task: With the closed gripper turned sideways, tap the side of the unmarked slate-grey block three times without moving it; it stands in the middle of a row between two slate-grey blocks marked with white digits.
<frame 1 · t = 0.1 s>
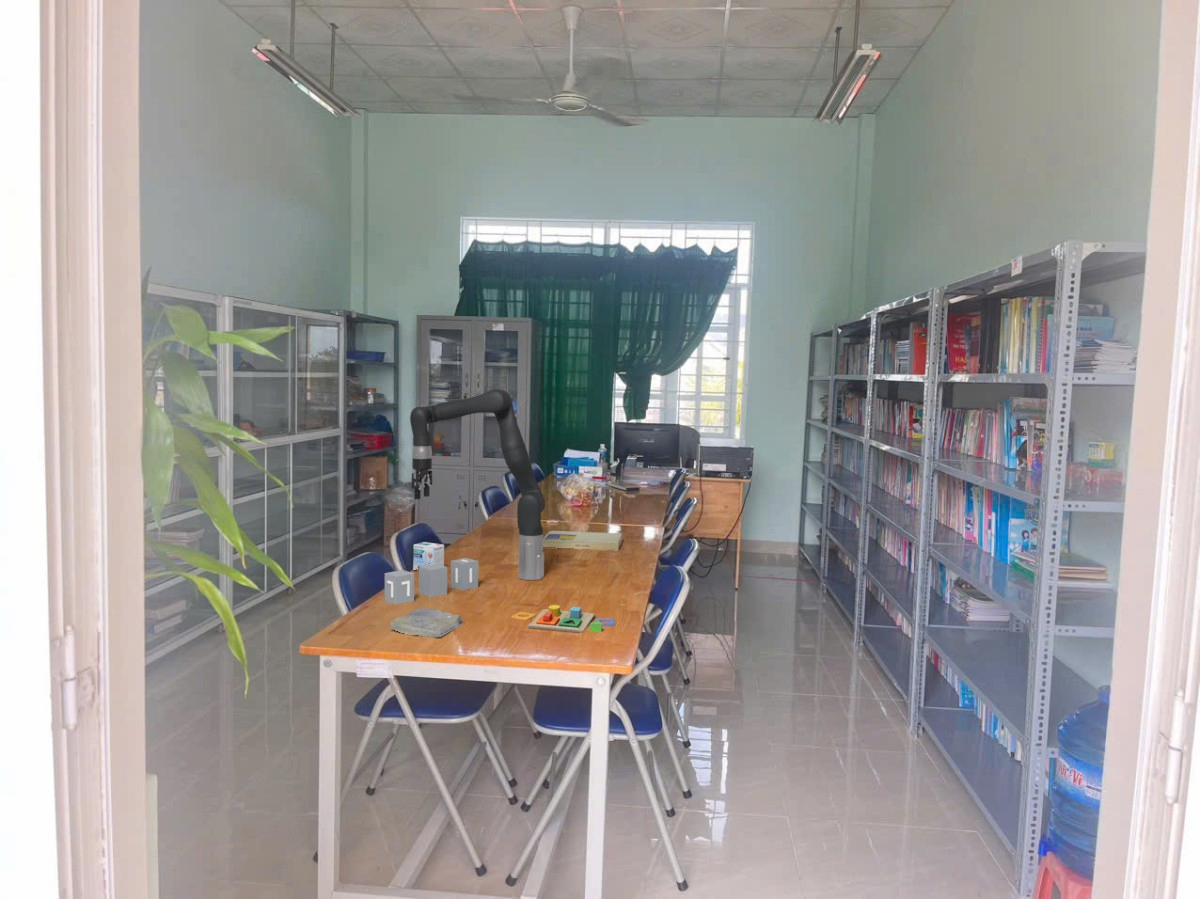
hand: (422, 497, 309), 29 cm above the table, tool pointing down, fingers open, 8 cm apart
puzzle box: (582, 545, 371), on the table
block marked 7: (399, 602, 265), on the table
block marked 1: (464, 587, 286), on the table
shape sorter: (561, 624, 246), on the table
fossil: (429, 628, 239), on the table
light bulb box: (428, 571, 311), on the table
plain block: (433, 594, 276), on the table
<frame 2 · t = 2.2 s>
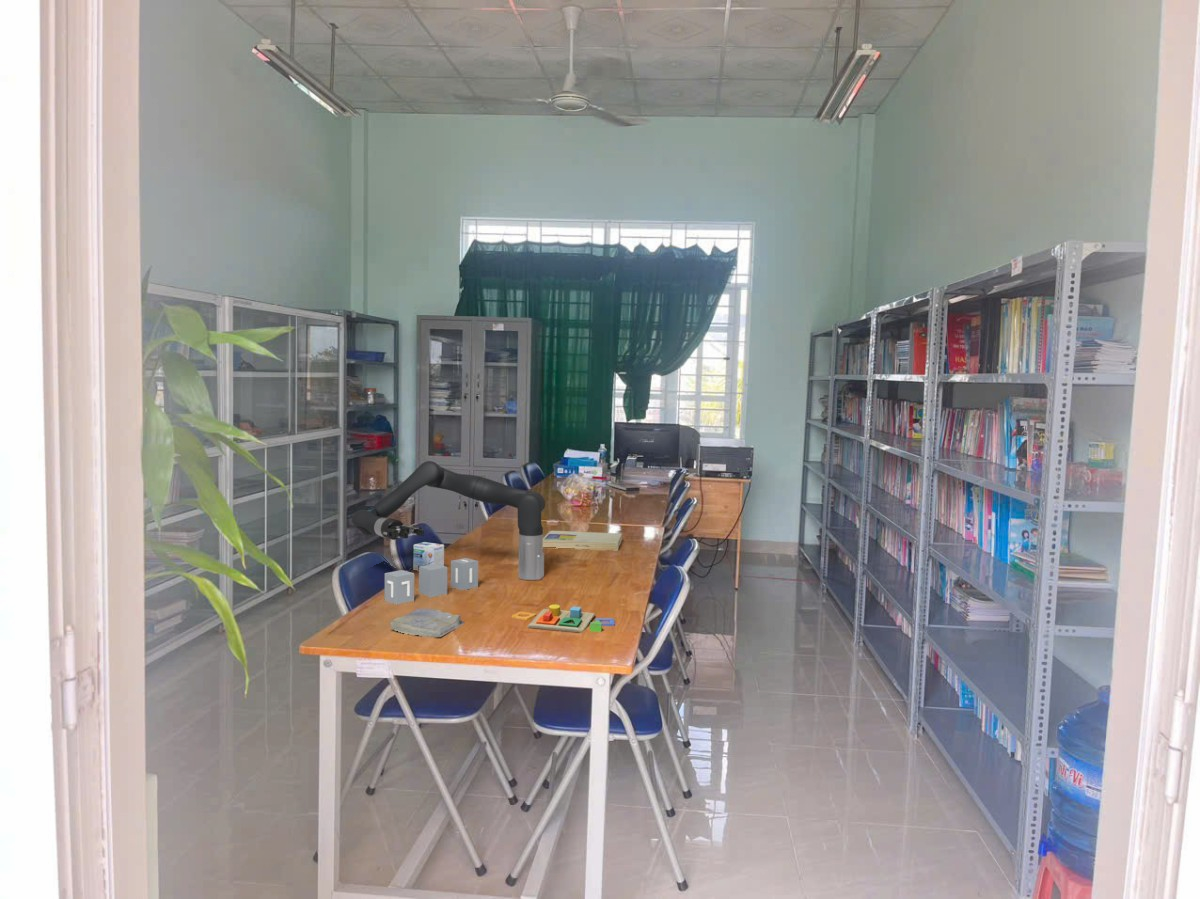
hand: (415, 534, 281), 20 cm above the table, tool horizontal, fingers open, 6 cm apart
nothing on the table moved.
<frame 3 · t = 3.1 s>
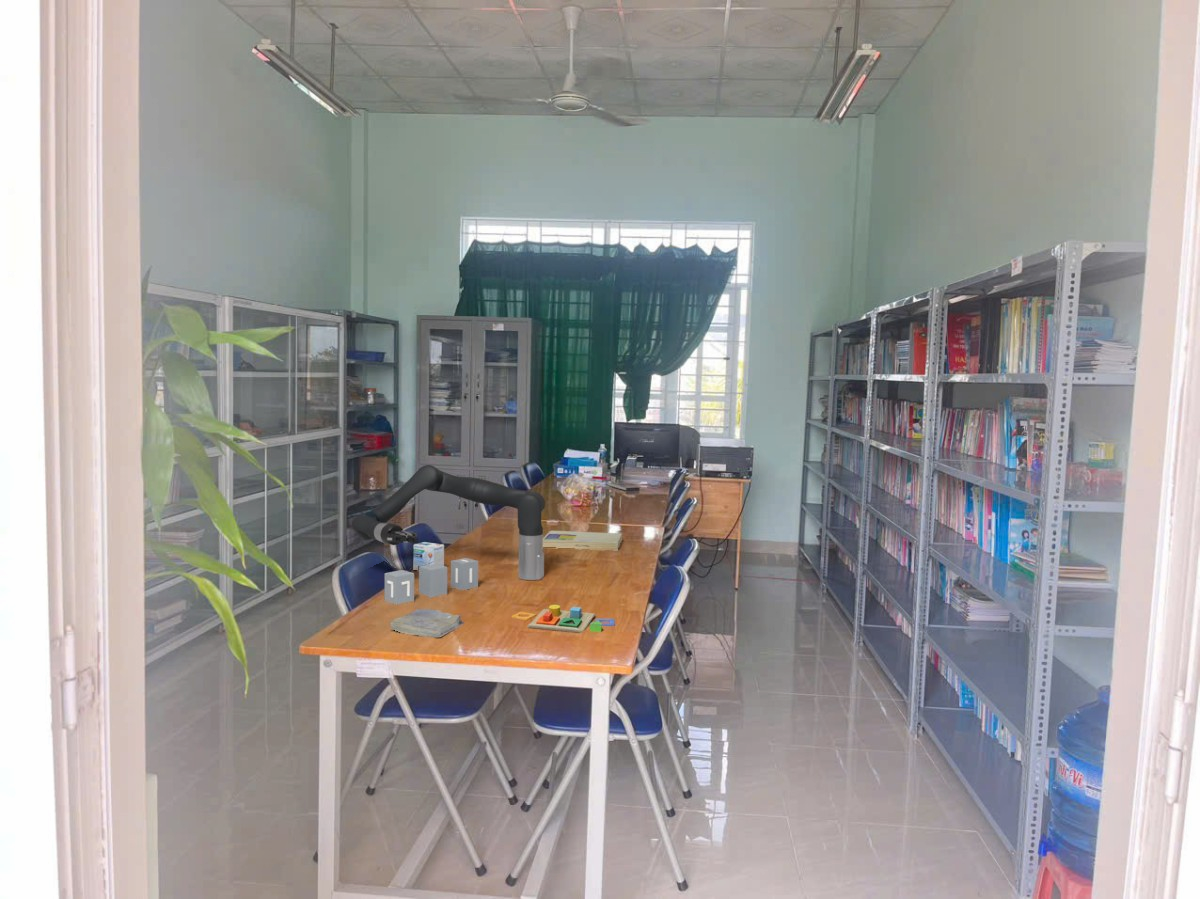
hand: (416, 540, 281), 18 cm above the table, tool horizontal, fingers closed
nothing on the table moved.
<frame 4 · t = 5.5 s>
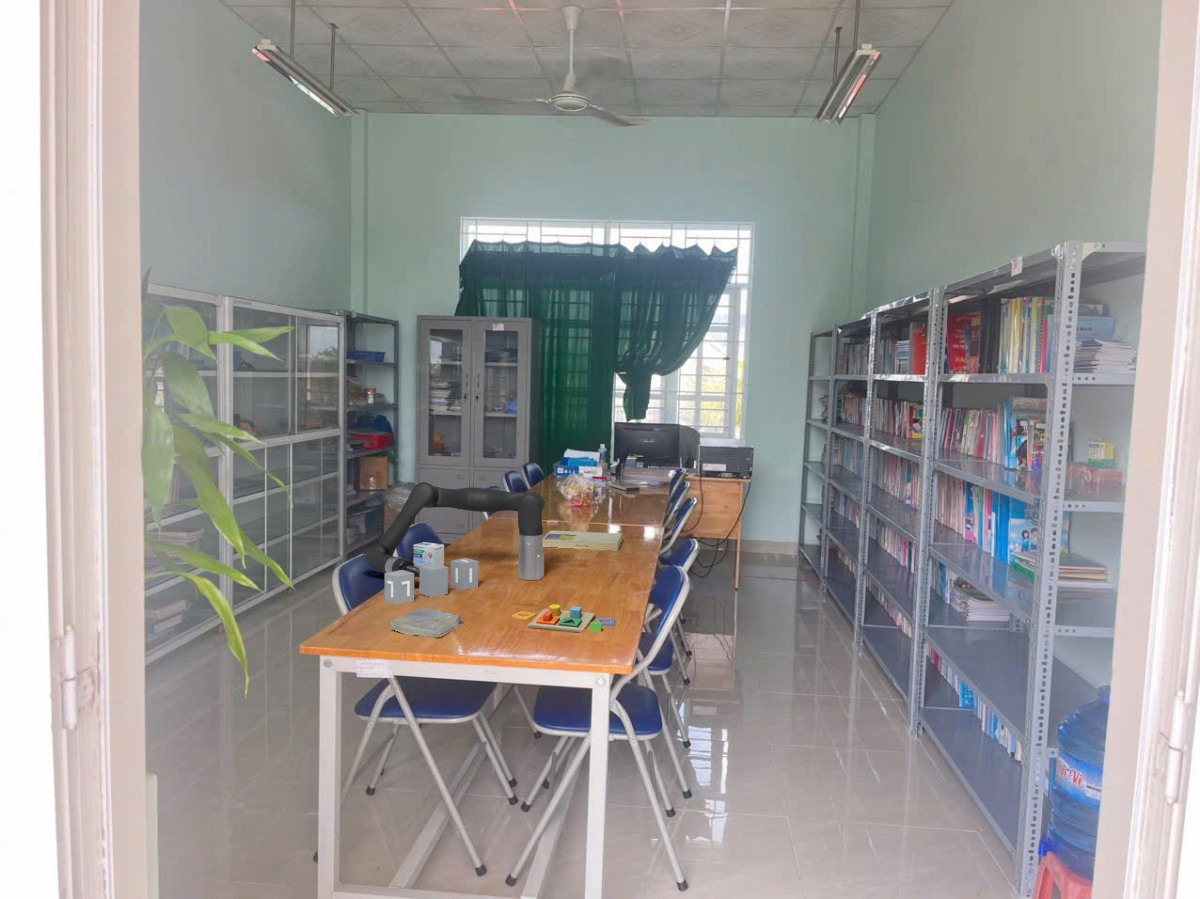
hand: (427, 576, 278), 6 cm above the table, tool horizontal, fingers closed
plain block: (433, 594, 276), on the table, touching gripper
everything else where it was.
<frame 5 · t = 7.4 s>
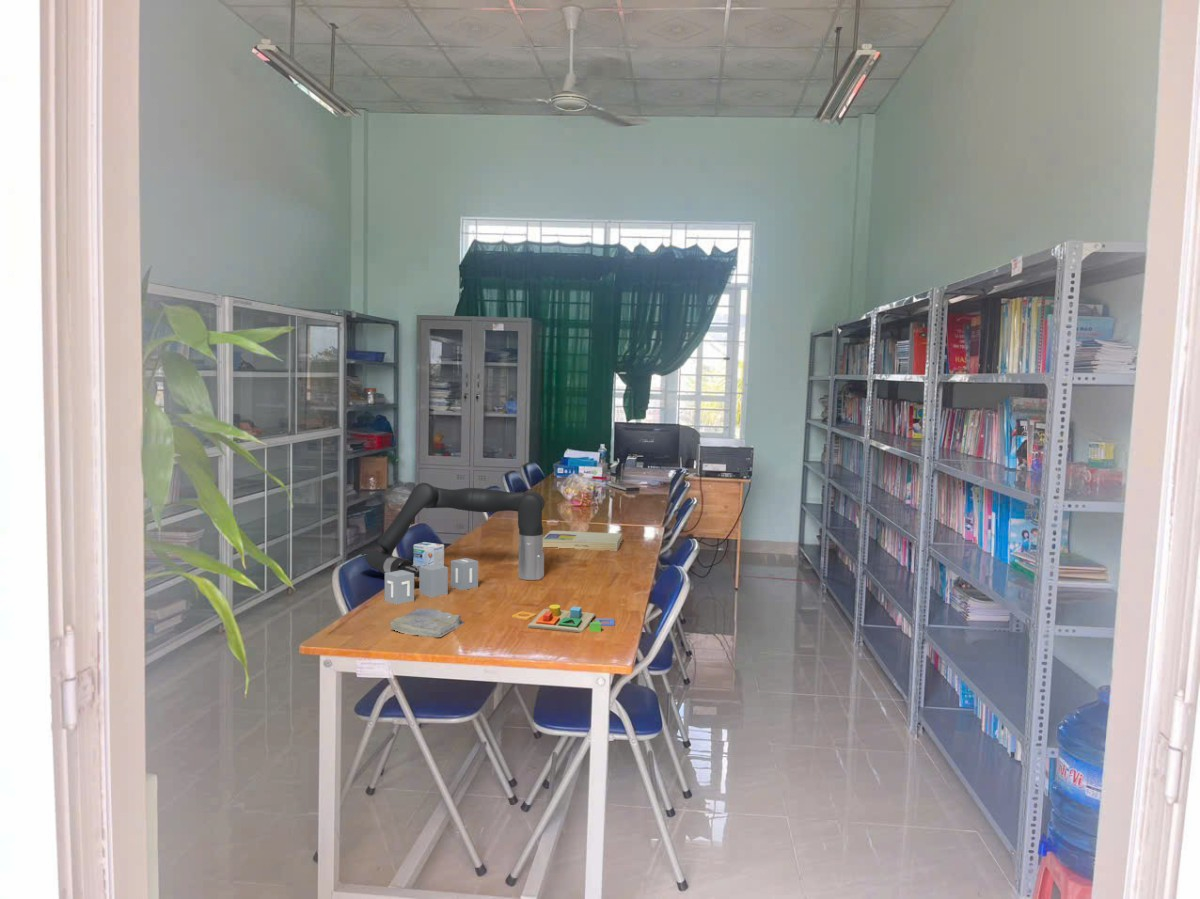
hand: (426, 575, 278), 6 cm above the table, tool horizontal, fingers closed
plain block: (433, 594, 276), on the table
everything else where it was.
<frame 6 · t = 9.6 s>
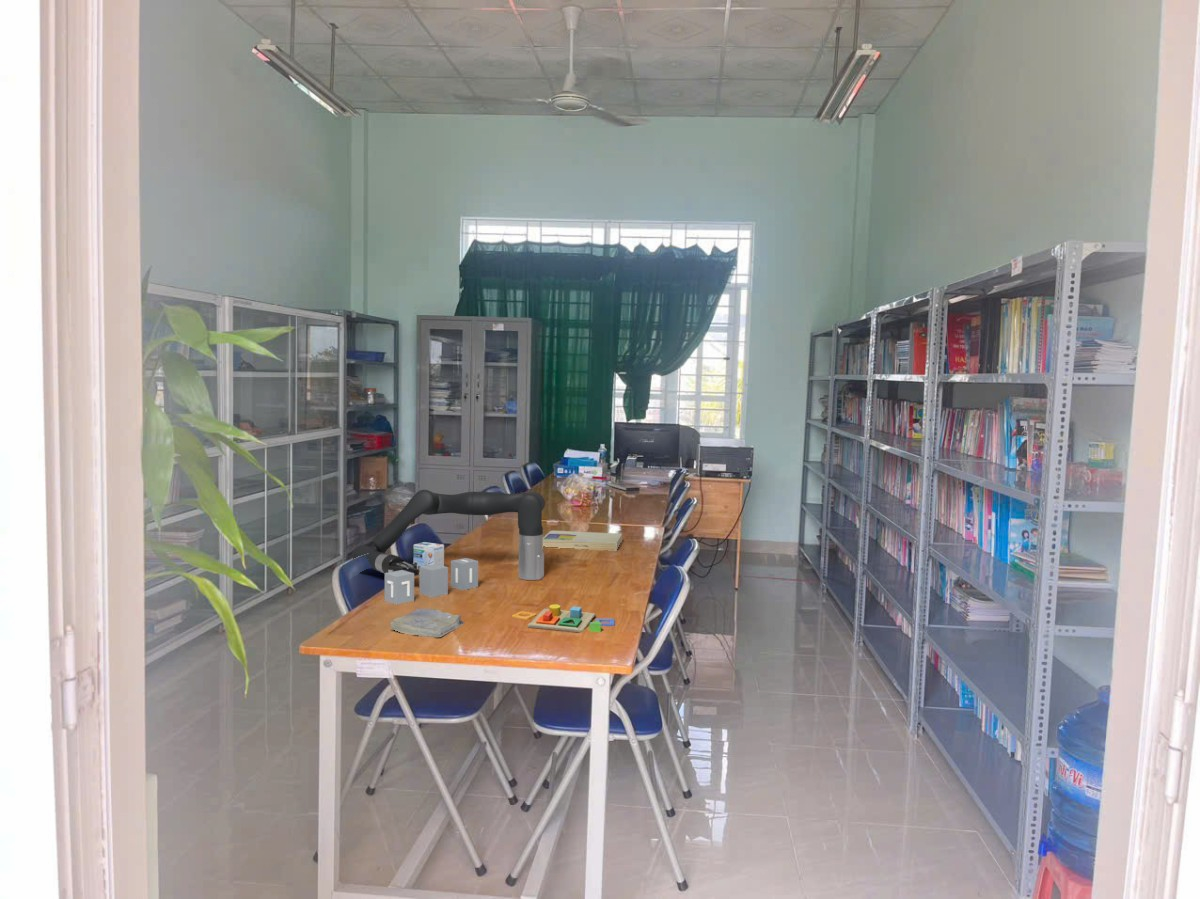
hand: (417, 572, 281), 6 cm above the table, tool horizontal, fingers closed
nothing on the table moved.
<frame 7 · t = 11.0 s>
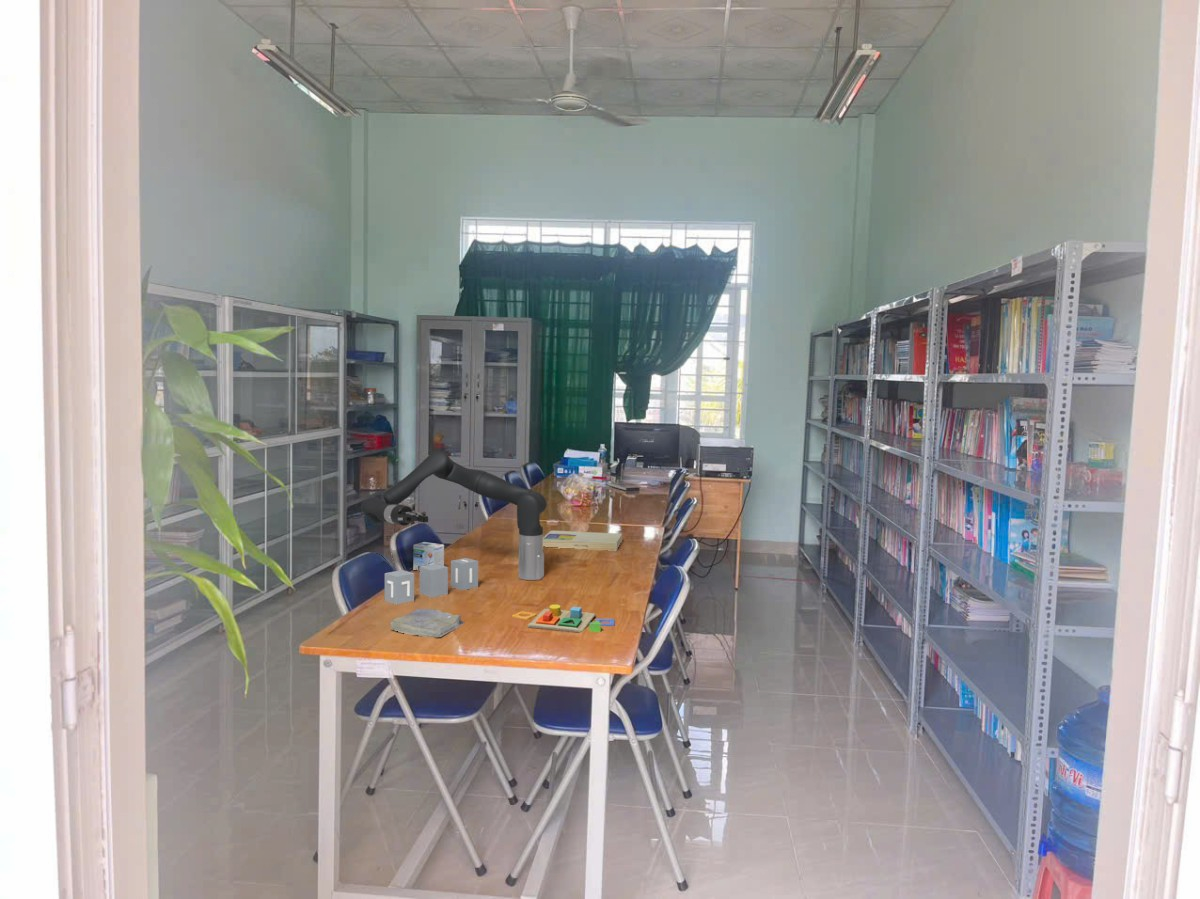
hand: (426, 519, 286), 25 cm above the table, tool horizontal, fingers closed
nothing on the table moved.
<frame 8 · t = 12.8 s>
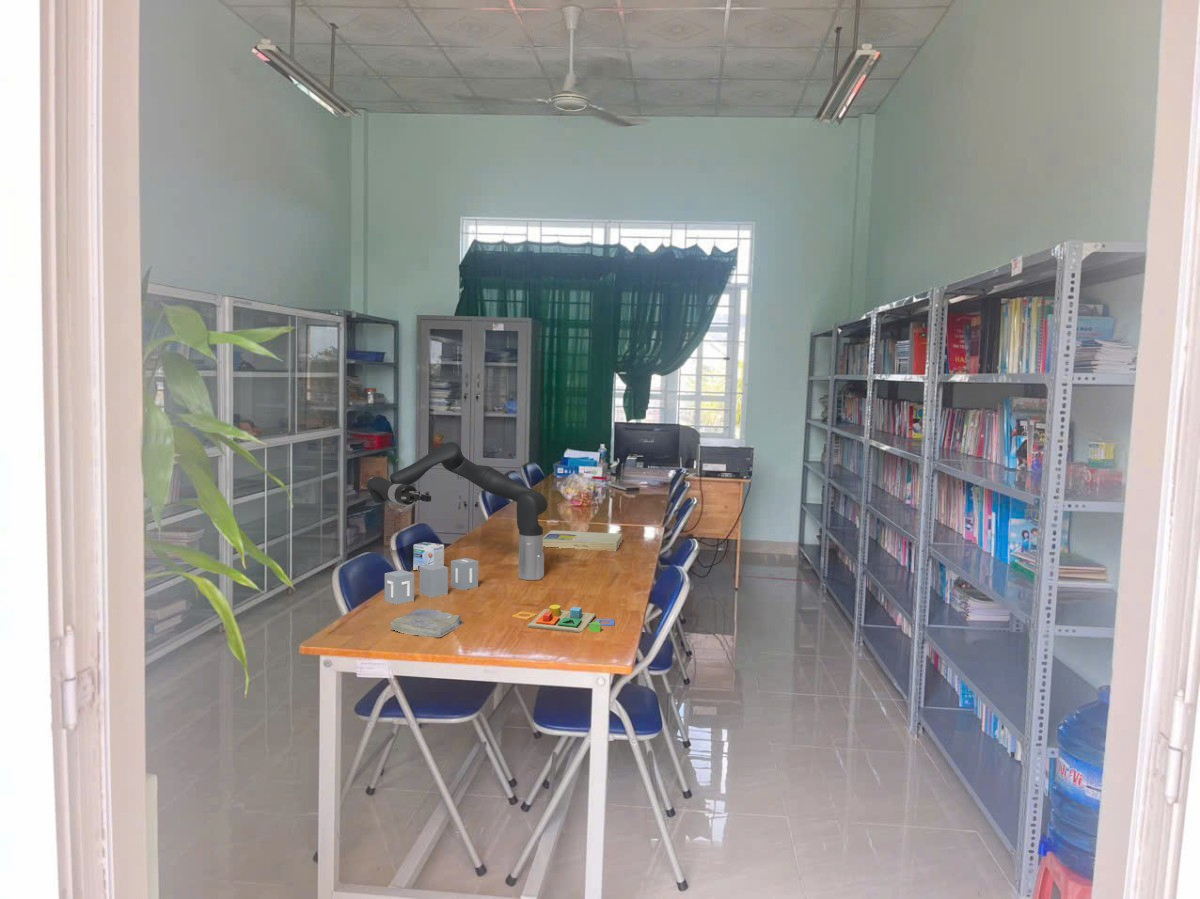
hand: (429, 498, 288), 32 cm above the table, tool horizontal, fingers closed
nothing on the table moved.
at the end: plain block moved 0.3 cm from its start; plain block tilted 0°; block marked 7 moved 0.1 cm from its start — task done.
